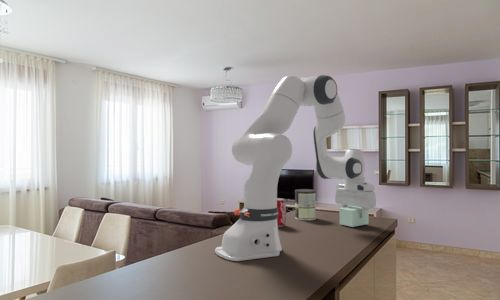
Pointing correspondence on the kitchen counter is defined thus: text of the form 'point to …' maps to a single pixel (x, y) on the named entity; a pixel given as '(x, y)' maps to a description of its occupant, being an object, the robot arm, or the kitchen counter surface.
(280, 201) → the soda can
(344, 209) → the mint green block
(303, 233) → the kitchen counter surface
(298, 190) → the coffee can
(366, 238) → the kitchen counter surface
